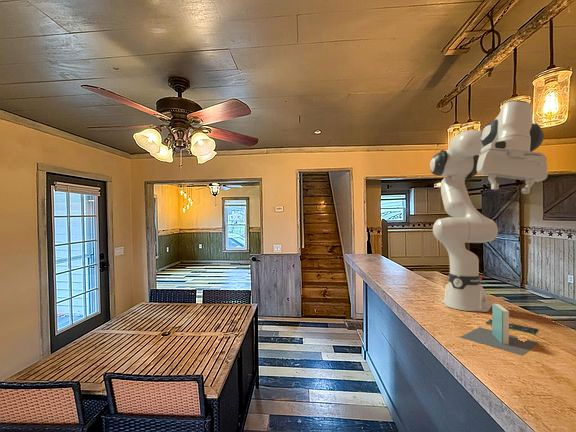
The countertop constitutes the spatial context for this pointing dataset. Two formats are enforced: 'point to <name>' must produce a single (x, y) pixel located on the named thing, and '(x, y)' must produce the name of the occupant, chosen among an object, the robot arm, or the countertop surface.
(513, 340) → the mat
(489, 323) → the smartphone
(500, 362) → the countertop surface
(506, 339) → the tile
